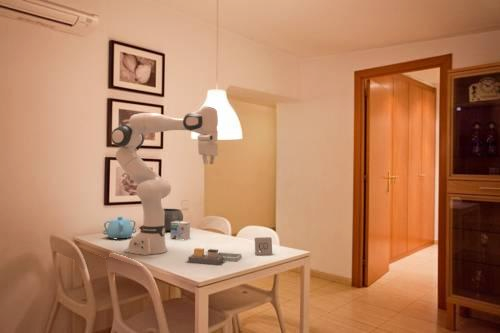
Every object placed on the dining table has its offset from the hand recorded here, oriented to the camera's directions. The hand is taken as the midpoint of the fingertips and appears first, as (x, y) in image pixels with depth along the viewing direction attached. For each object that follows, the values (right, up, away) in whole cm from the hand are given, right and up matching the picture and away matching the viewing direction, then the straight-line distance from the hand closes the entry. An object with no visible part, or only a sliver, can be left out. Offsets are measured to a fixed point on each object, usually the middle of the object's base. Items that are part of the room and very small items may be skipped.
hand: (208, 164), depth 194 cm
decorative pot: (-61, -47, +42) cm, 88 cm away
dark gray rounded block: (-37, -47, +71) cm, 93 cm away
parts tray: (+11, -48, -9) cm, 50 cm away
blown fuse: (+4, -47, -18) cm, 50 cm away
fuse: (-3, -47, -16) cm, 50 cm away
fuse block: (+1, -48, -17) cm, 51 cm away
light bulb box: (-23, -48, +43) cm, 69 cm away
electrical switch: (+28, -49, +5) cm, 57 cm away
